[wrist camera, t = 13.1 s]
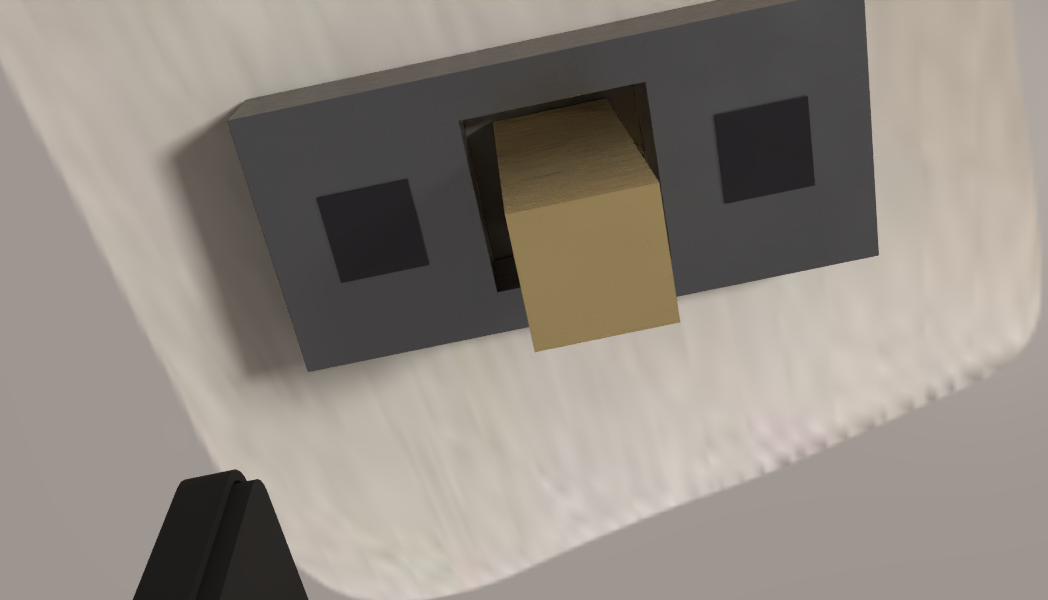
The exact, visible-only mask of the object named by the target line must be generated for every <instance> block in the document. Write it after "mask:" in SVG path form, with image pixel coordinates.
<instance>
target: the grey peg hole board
mask: <svg viewBox="0 0 1048 600" xmlns="http://www.w3.org/2000/svg"><path fill="white" fill-rule="evenodd" d="M632 84H634V90H635V96H636V103H637V109H638V116H639V122H640V129H641V136H642V142H643V149H644V155H645V161H646V162H647V164H648V166H649V167H650V169H651V170H652V172H653V173H654V175H655V177H656V178H657V180H658V181H659V185H660V191H661V198H662V205H663V211H664V218H665V225H666V231H667V238H668V245H669V251H670V258H671V265H672V271H673V278H674V285H675V291H676V297H677V296H682V295H687V294H692V293H697V292H702V291H707V290H712V289H716V288H721V287H726V286H731V285H736V284H741V283H746V282H751V281H756V280H761V279H765V278H770V277H775V276H780V275H785V274H790V273H795V272H800V271H805V270H809V269H814V268H819V267H824V266H829V265H834V264H839V263H844V262H849V261H853V260H858V259H863V258H868V257H873V256H878V255H879V251H878V233H877V215H876V197H875V180H874V162H873V144H872V127H871V109H870V91H869V74H868V56H867V38H866V21H865V3H864V0H716V1H711V2H706V3H702V4H697V5H692V6H687V7H683V8H678V9H673V10H668V11H664V12H659V13H654V14H650V15H645V16H640V17H635V18H631V19H626V20H621V21H616V22H612V23H607V24H602V25H597V26H593V27H588V28H583V29H579V30H574V31H569V32H564V33H560V34H555V35H550V36H545V37H541V38H536V39H531V40H527V41H522V42H517V43H512V44H508V45H503V46H498V47H493V48H489V49H484V50H479V51H474V52H470V53H465V54H460V55H456V56H451V57H446V58H441V59H437V60H432V61H427V62H422V63H418V64H413V65H408V66H403V67H399V68H394V69H389V70H385V71H380V72H375V73H370V74H366V75H361V76H356V77H351V78H347V79H342V80H337V81H333V82H328V83H323V84H318V85H314V86H309V87H304V88H299V89H295V90H290V91H285V92H280V93H276V94H271V95H266V96H262V97H257V98H252V99H247V100H245V101H244V102H243V104H242V105H241V106H240V107H239V108H238V109H237V110H236V111H235V112H234V113H233V115H232V116H231V117H230V118H229V119H228V120H227V122H228V125H229V128H230V131H231V134H232V137H233V140H234V143H235V147H236V150H237V153H238V156H239V159H240V162H241V165H242V168H243V171H244V174H245V178H246V181H247V184H248V187H249V190H250V193H251V196H252V199H253V202H254V205H255V209H256V212H257V215H258V218H259V221H260V224H261V227H262V230H263V233H264V236H265V240H266V243H267V246H268V249H269V252H270V255H271V258H272V261H273V264H274V267H275V271H276V274H277V277H278V280H279V283H280V286H281V289H282V292H283V295H284V298H285V302H286V305H287V308H288V311H289V314H290V317H291V320H292V323H293V326H294V329H295V333H296V336H297V339H298V342H299V345H300V348H301V351H302V354H303V357H304V360H305V364H306V367H307V370H308V372H310V371H315V370H320V369H325V368H330V367H335V366H340V365H345V364H349V363H354V362H359V361H364V360H369V359H374V358H379V357H384V356H389V355H394V354H398V353H403V352H408V351H413V350H418V349H423V348H428V347H433V346H438V345H442V344H447V343H452V342H457V341H462V340H467V339H472V338H477V337H482V336H486V335H491V334H496V333H501V332H506V331H511V330H516V329H521V328H526V327H529V323H528V318H527V314H526V309H525V304H524V300H523V295H522V291H521V286H520V281H519V277H518V272H517V268H516V263H515V259H514V256H513V257H508V258H504V259H499V260H494V256H493V252H492V248H491V243H490V239H489V234H488V230H487V225H486V221H485V216H484V212H483V208H482V203H481V199H480V194H479V190H478V185H477V181H476V177H475V172H474V168H473V163H472V159H471V154H470V150H469V145H468V141H467V137H466V132H465V128H464V123H463V120H466V119H470V118H475V117H480V116H485V115H489V114H494V113H499V112H504V111H508V110H513V109H518V108H523V107H528V106H532V105H537V104H542V103H547V102H551V101H556V100H561V99H566V98H570V97H575V96H580V95H585V94H590V93H594V92H599V91H604V90H609V89H613V88H618V87H623V86H628V85H632Z"/></svg>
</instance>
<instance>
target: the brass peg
mask: <svg viewBox="0 0 1048 600" xmlns="http://www.w3.org/2000/svg"><path fill="white" fill-rule="evenodd" d="M493 129H494V136H495V144H496V151H497V159H498V166H499V174H500V181H501V189H502V196H503V204H504V211H505V217H506V222H507V226H508V231H509V236H510V240H511V245H512V249H513V254H514V259H515V263H516V268H517V272H518V277H519V281H520V286H521V291H522V295H523V300H524V304H525V309H526V314H527V318H528V323H529V327H530V332H531V336H532V341H533V346H534V350H535V352H538V351H542V350H547V349H552V348H557V347H562V346H567V345H572V344H576V343H581V342H586V341H591V340H596V339H601V338H606V337H610V336H615V335H620V334H625V333H630V332H635V331H640V330H645V329H649V328H654V327H659V326H664V325H669V324H674V323H679V322H680V318H679V311H678V305H677V298H676V291H675V285H674V278H673V271H672V265H671V258H670V251H669V245H668V238H667V231H666V225H665V218H664V211H663V205H662V198H661V191H660V185H659V181H658V180H657V178H656V177H655V175H654V173H653V172H652V170H651V169H650V167H649V166H648V164H647V162H646V161H645V159H644V158H643V156H642V154H641V153H640V151H639V150H638V148H637V147H636V145H635V143H634V142H633V140H632V139H631V137H630V135H629V134H628V132H627V131H626V129H625V128H624V126H623V124H622V123H621V121H620V120H619V118H618V116H617V115H616V113H615V112H614V110H613V108H612V107H611V105H610V104H609V102H608V101H607V99H606V98H605V99H600V100H596V101H591V102H586V103H581V104H577V105H572V106H567V107H562V108H558V109H553V110H548V111H544V112H539V113H534V114H529V115H525V116H520V117H515V118H510V119H506V120H501V121H496V122H493Z"/></svg>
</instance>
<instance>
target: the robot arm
mask: <svg viewBox="0 0 1048 600" xmlns="http://www.w3.org/2000/svg"><path fill="white" fill-rule="evenodd" d="M133 600H308V597H307V595H306V592H305V589H304V587H303V584H302V581H301V579H300V576H299V574H298V571H297V568H296V566H295V563H294V560H293V558H292V555H291V553H290V550H289V547H288V545H287V542H286V539H285V537H284V534H283V532H282V529H281V526H280V524H279V521H278V519H277V516H276V513H275V511H274V508H273V505H272V503H271V500H270V498H269V495H268V492H267V490H266V488H265V486H264V484H263V483H262V482H261V480H258V479H256V480H251V481H246V478H245V477H244V475H243V474H242V473H241V472H240V471H238V470H236V469H235V470H230V471H225V472H220V473H215V474H211V475H205V476H200V477H196V478H191V479H186V480H184V481H182V482H181V483H180V484H179V486H178V488H177V490H176V493H175V495H174V498H173V500H172V503H171V505H170V508H169V510H168V513H167V515H166V518H165V520H164V523H163V525H162V528H161V530H160V533H159V536H158V538H157V540H156V543H155V545H154V548H153V550H152V553H151V555H150V558H149V560H148V563H147V565H146V568H145V571H144V573H143V576H142V578H141V580H140V583H139V585H138V588H137V590H136V593H135V595H134V598H133Z"/></svg>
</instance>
